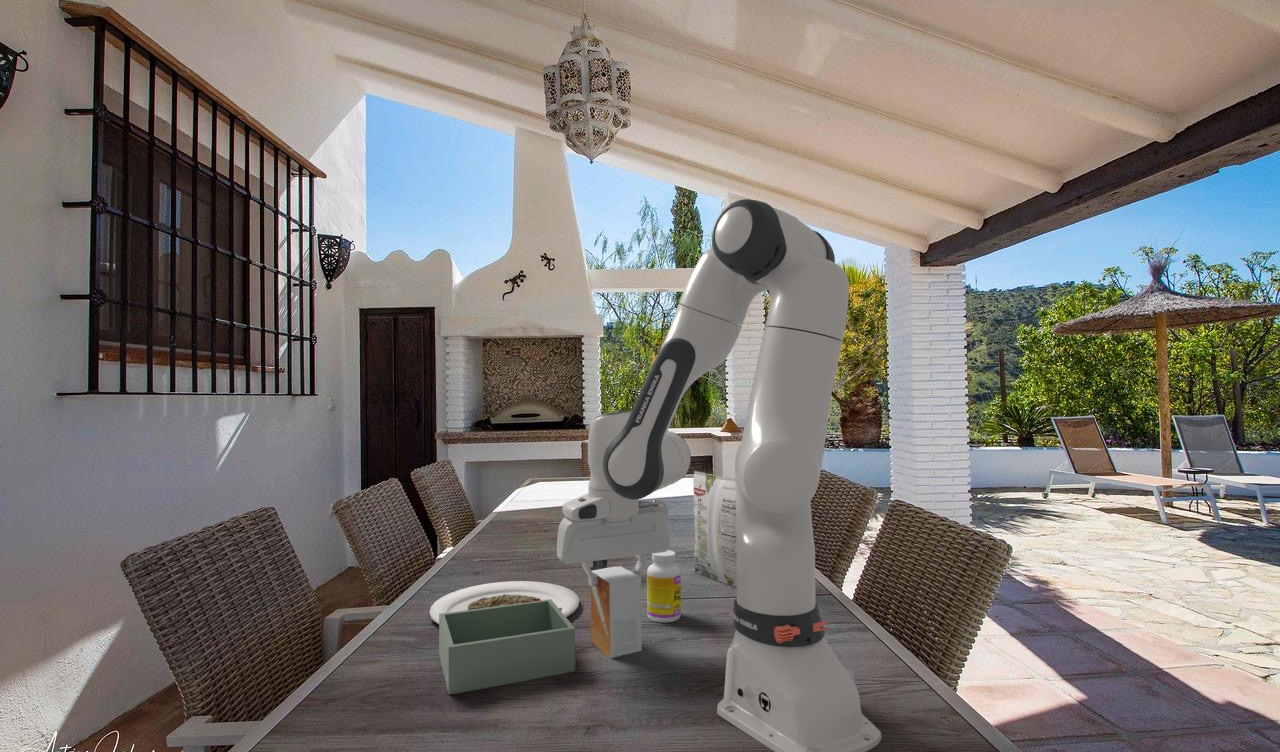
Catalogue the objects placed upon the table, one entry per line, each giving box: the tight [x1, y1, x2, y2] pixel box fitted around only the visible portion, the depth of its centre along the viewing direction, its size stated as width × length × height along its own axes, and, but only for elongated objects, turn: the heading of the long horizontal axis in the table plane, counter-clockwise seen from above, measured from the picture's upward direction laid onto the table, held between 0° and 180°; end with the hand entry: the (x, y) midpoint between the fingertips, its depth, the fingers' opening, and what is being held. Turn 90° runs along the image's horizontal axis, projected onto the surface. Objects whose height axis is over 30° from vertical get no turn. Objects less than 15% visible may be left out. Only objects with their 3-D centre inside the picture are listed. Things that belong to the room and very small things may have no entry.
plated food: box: [429, 580, 580, 625], centre depth 134 cm, size 30×30×3 cm
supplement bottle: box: [646, 549, 682, 624], centre depth 129 cm, size 7×7×13 cm
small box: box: [590, 565, 643, 659], centre depth 114 cm, size 8×6×13 cm
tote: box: [438, 599, 576, 696], centre depth 108 cm, size 16×20×7 cm
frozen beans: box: [692, 470, 737, 588], centre depth 152 cm, size 21×6×25 cm, turn 32°
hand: (615, 582), depth 114 cm, fingers open, 6 cm apart
